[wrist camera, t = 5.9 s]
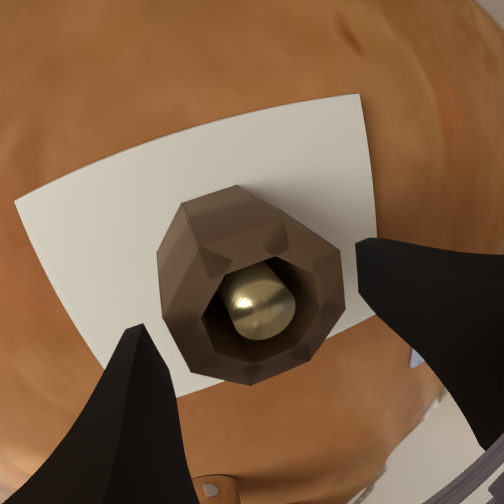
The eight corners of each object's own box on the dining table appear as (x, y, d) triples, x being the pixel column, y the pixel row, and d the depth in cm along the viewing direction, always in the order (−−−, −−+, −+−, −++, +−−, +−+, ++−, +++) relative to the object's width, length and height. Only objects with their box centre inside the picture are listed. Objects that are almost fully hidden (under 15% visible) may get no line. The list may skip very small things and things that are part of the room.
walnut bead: (271, 173, 13) (334, 199, 9) (295, 283, 16) (348, 342, 11) (142, 216, 12) (138, 268, 8) (187, 324, 15) (206, 402, 10)
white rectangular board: (342, 95, 14) (359, 93, 13) (365, 301, 20) (378, 312, 19) (26, 193, 11) (14, 201, 10) (134, 391, 17) (135, 409, 16)
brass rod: (233, 214, 15) (289, 274, 9) (243, 251, 16) (299, 325, 10) (193, 228, 14) (224, 299, 9) (205, 265, 15) (242, 348, 10)
